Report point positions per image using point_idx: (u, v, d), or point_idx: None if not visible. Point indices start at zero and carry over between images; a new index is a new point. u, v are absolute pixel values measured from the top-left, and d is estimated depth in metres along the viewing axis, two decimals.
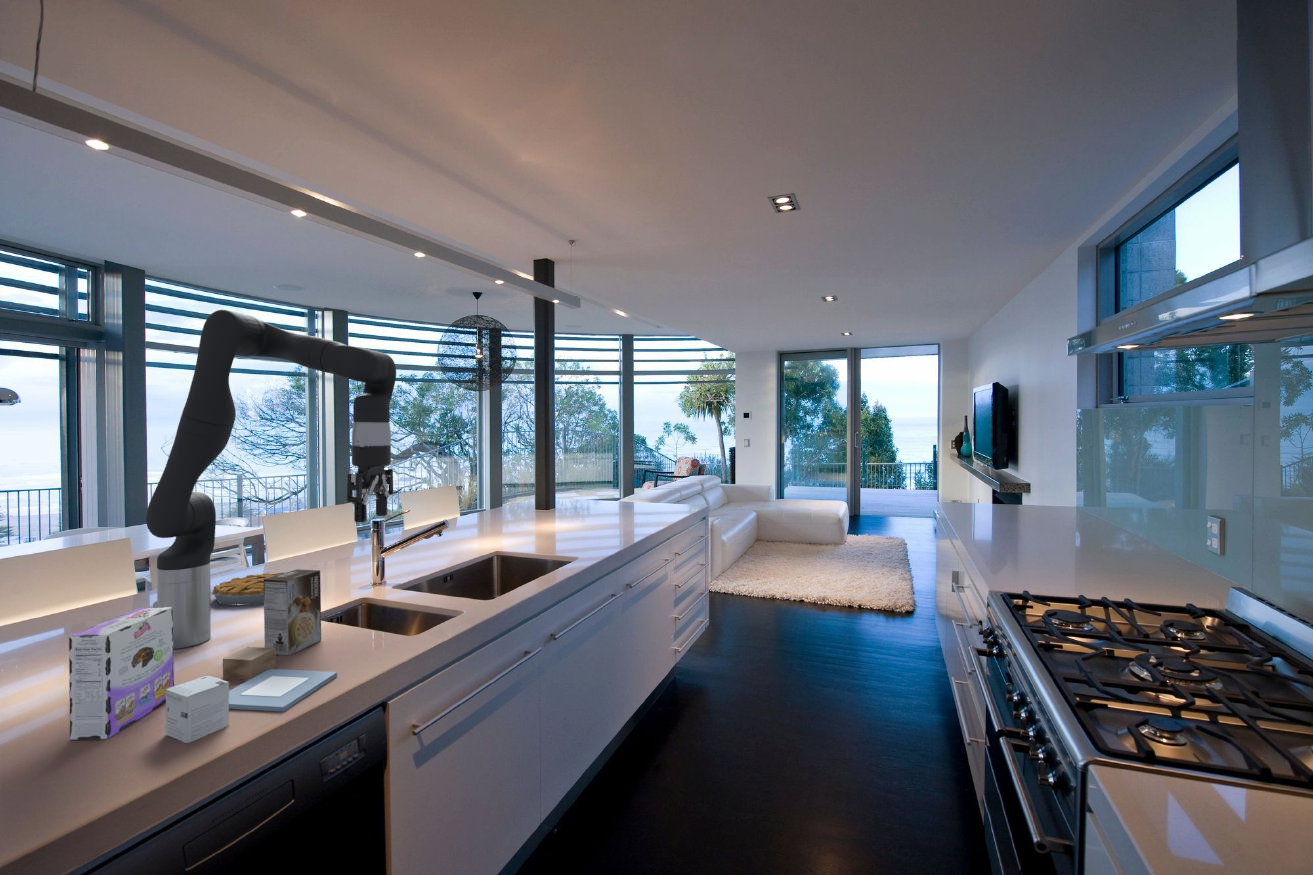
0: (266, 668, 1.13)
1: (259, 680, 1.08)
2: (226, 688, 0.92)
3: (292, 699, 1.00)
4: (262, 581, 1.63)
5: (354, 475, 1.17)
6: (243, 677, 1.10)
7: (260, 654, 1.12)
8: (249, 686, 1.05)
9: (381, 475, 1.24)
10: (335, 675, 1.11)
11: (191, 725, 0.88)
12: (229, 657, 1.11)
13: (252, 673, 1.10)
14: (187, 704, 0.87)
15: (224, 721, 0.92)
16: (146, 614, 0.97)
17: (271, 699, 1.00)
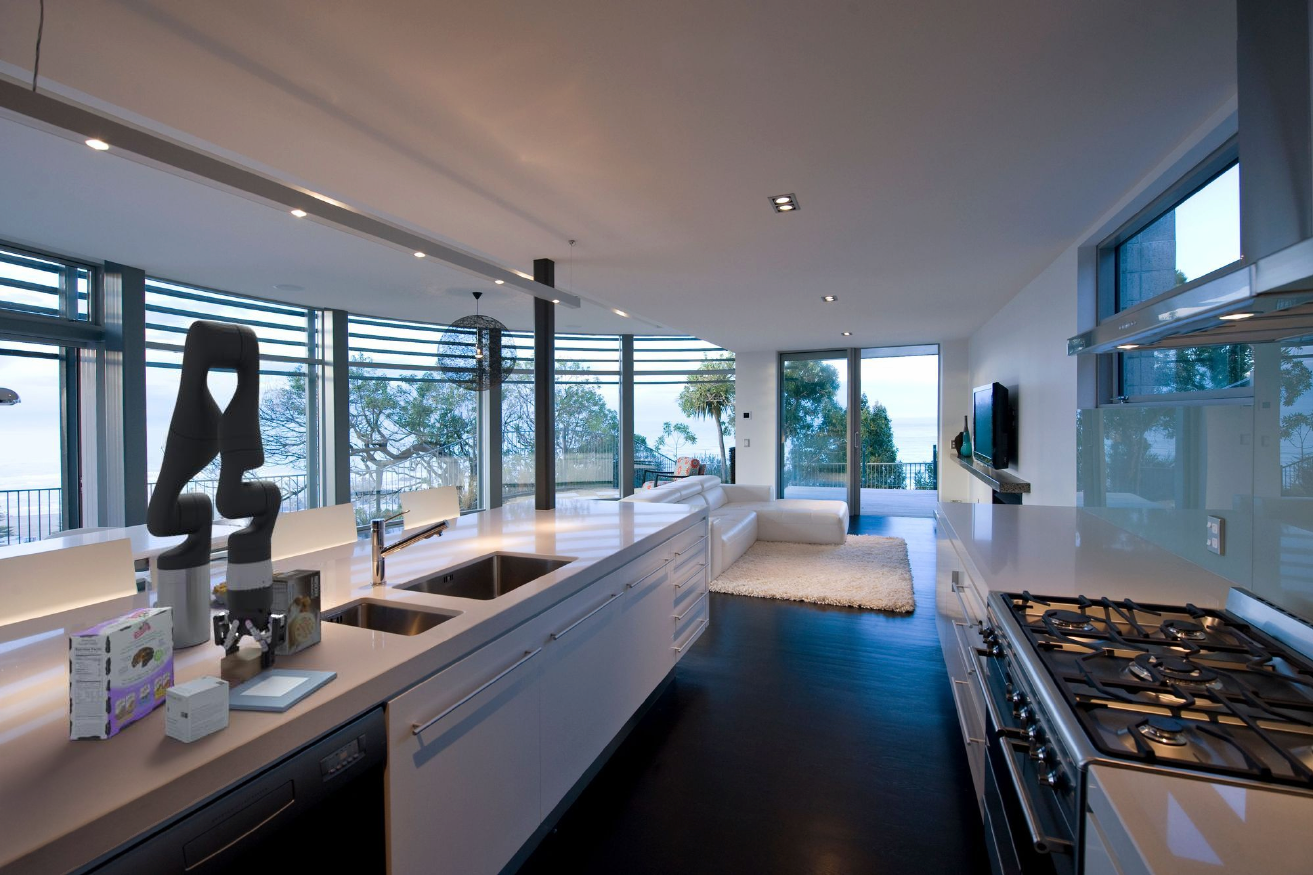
0: None
1: (259, 680, 1.08)
2: (226, 688, 0.92)
3: (292, 699, 1.00)
4: None
5: (283, 618, 1.12)
6: (241, 677, 1.10)
7: (258, 654, 1.12)
8: (249, 686, 1.05)
9: None
10: (335, 675, 1.11)
11: (191, 725, 0.88)
12: (227, 658, 1.10)
13: (251, 673, 1.10)
14: (187, 704, 0.87)
15: (224, 721, 0.92)
16: (146, 614, 0.97)
17: (271, 699, 1.00)
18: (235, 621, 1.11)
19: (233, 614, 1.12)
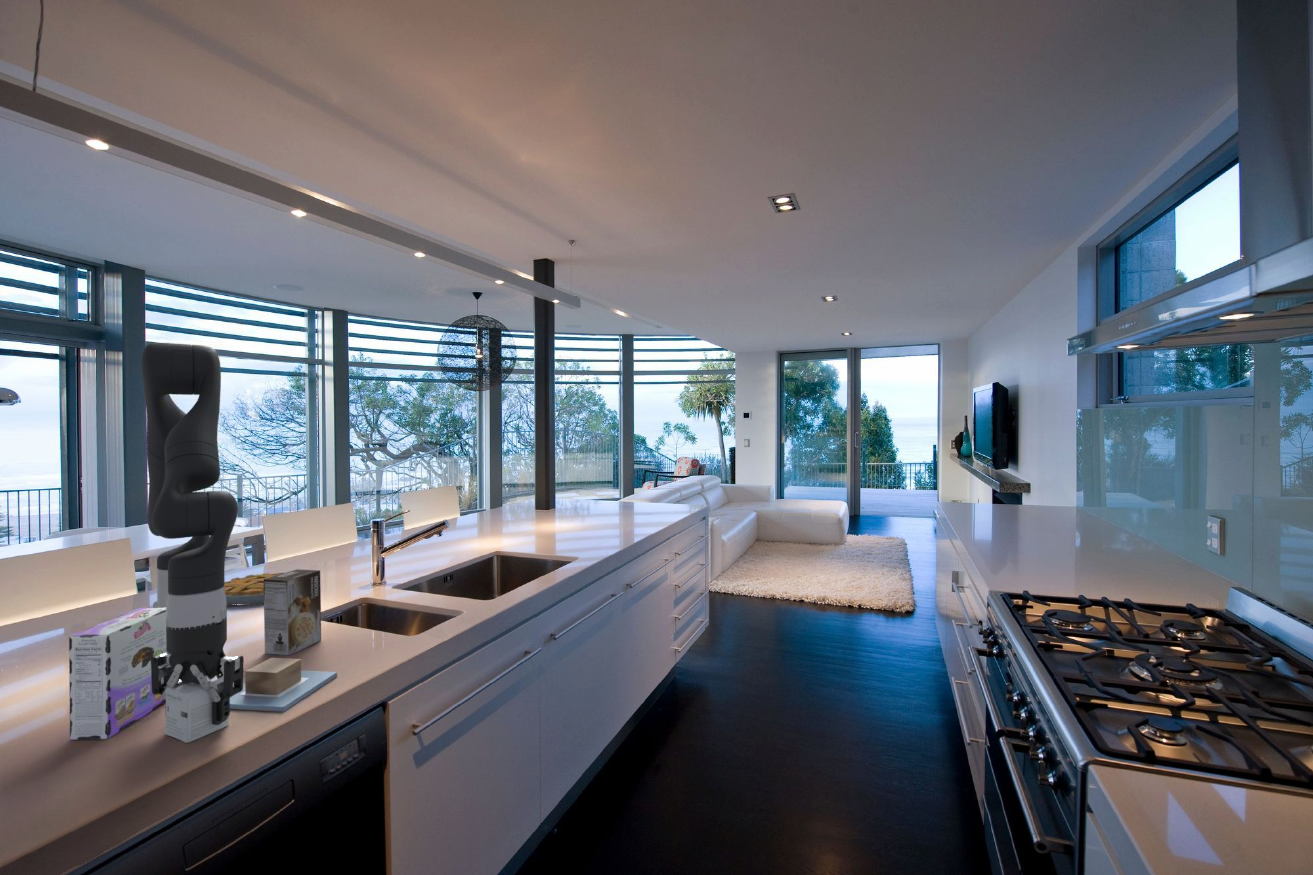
0: (291, 681, 1.05)
1: None
2: None
3: (292, 699, 1.00)
4: (262, 581, 1.63)
5: (238, 660, 0.91)
6: (267, 691, 1.02)
7: (285, 666, 1.04)
8: None
9: None
10: (335, 675, 1.11)
11: (190, 725, 0.88)
12: (252, 670, 1.02)
13: (277, 687, 1.02)
14: (187, 704, 0.87)
15: (224, 721, 0.92)
16: (146, 614, 0.97)
17: (271, 699, 1.00)
18: (178, 666, 0.89)
19: (176, 657, 0.90)
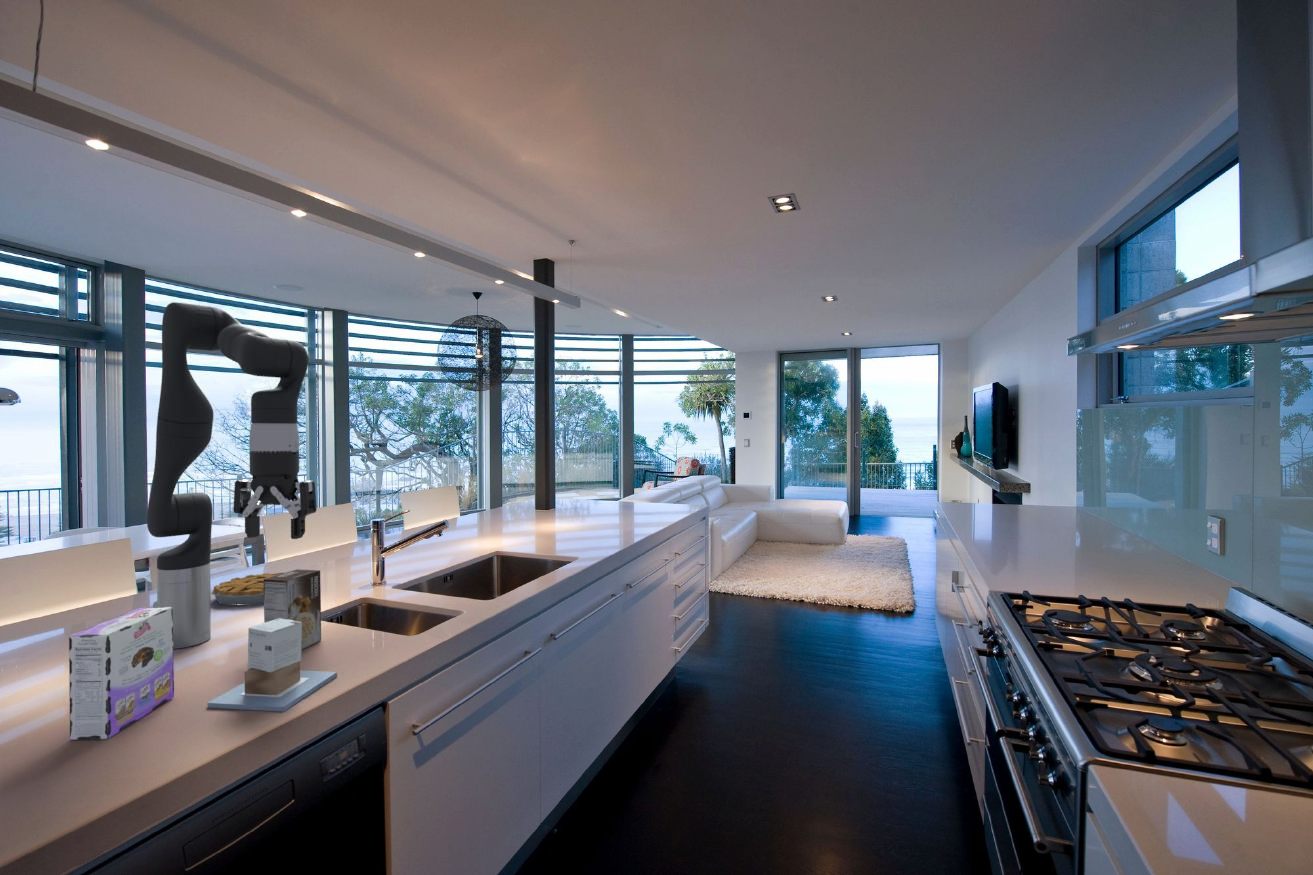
0: (291, 681, 1.05)
1: None
2: (299, 627, 1.06)
3: (292, 699, 1.00)
4: (262, 581, 1.63)
5: (310, 483, 1.04)
6: (267, 691, 1.02)
7: None
8: None
9: None
10: (335, 675, 1.11)
11: (274, 657, 1.02)
12: (251, 670, 1.02)
13: (277, 687, 1.02)
14: (271, 638, 1.01)
15: (298, 656, 1.06)
16: (146, 614, 0.97)
17: (271, 699, 1.00)
18: (259, 487, 1.03)
19: (257, 482, 1.04)
